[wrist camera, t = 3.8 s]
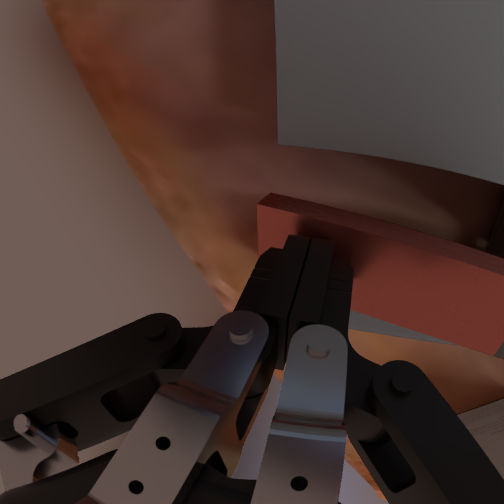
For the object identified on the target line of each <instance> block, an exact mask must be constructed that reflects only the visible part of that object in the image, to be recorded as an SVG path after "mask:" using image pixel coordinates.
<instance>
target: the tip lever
mask: <svg viewBox="0 0 504 504" xmlns="http://www.w3.org/2000/svg"><path fill="white" fill-rule="evenodd" d="M257 226H258V259H259V257H260V255H261V254H263V253H264V252H265V251H266V250H268V249H269V248H270V247H274V248H280V249H283V247H284V245H285V242H286V240H287V237H288V235H289V234H291V235H298V236H305V237H311V241H312V238H319V239H326V240H333V241H334V249H333V256H334V257H341V258H347V259H349V261H350V263H351V265H352V267H353V269H354V277H353V288H352V298H351V308H350V310H353V311H356V312H358V313H361V314H364V315H367V316H370V317H373V318H376V319H379V320H382V321H386V322H389V323H392V324H395V325H398V326H401V327H404V328H407V329H410V330H413V331H416V332H419V333H422V334H425V335H429V336H432V337H435V338H438V339H441V340H444V341H447V342H451V343H454V344H457V345H460V346H463V347H467V348H470V349H473V350H476V351H480V352H483V353H486V354H489V355H493V356H496V357H499V358H503V359H504V198H503V201H502V204H501V208H500V211H499V214H498V217H497V220H496V223H495V226H494V229H493V231H492V234H491V237H490V240H489V242H488V245H487V247H486V252H483V251H480V250H477V249H474V248H471V247H468V246H465V245H462V244H459V243H456V242H453V241H450V240H447V239H443V238H440V237H437V236H434V235H430V234H427V233H424V232H421V231H417V230H414V229H411V228H407V227H404V226H400V225H397V224H393V223H390V222H386V221H383V220H379V219H375V218H372V217H368V216H364V215H361V214H357V213H353V212H349V211H345V210H342V209H338V208H334V207H330V206H326V205H322V204H318V203H313V202H309V201H305V200H301V199H297V198H292V197H288V196H284V195H279V194H275V193H270V194H269V195H267V196H266V197H265V198H264V199H262V200H261V201H260V202H259V203H257Z"/></svg>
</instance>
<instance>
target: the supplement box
mask: <svg viewBox="0 0 504 504" xmlns="http://www.w3.org/2000/svg"><path fill="white" fill-rule="evenodd" d="M457 416H458V417H459V418H460V420H461V421H462V422H463V424H464V425H465V426H466V428H467V429H468V430H469V432H470V433H471V434H472V436H473V437H474V438H475V440H476V441H477V443H478V444H479V445H480V447H481V448H482V449H483V451H484V452H485V454H486V455H487V456H488V458H489V459H490V461H491V462H492V463H493V465H494V466H495V468H496V469H497V470H498V472H499V473H500V475H501V476H502V478H503V479H504V398H503V399H501V400H498V401H495V402H492V403H490V404H487V405H484V406H481V407H479V408H476V409H473V410H470V411H467V412H464V413H461V414H458V415H457Z"/></svg>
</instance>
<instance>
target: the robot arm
mask: <svg viewBox="0 0 504 504" xmlns="http://www.w3.org/2000/svg"><path fill="white" fill-rule="evenodd" d="M333 249H334V241H333V240H326V239H319V238H312V241H311V237H305V236H298V235H291V234H289V235H288V237H287V240H286V242H285V245H284V247H283V249H280V248H274V247H270V248H269V249H268V250H266V251H265V252H264V253H263V254H261V255H260V257H259V259H258V261H257V263H256V265H255V269H253V271H252V274H251V277H250V278H249V280H248V282H247V284H246V286H245V288H244V290H243V292H242V294H241V296H240V298H239V300H238V303H237V305H236V307H235V309H234V311H233V312H230V313H227V314H225V315H224V316H222V317H221V318H220V319H218V321H217V322H216V323H215V325H214V326H210V327H201V328H199V327H198V328H182V327H181V324H180V322H179V321H178V320H177V319H176V318H175V317H174V316H172V315H169V314H166V313H155V314H151V315H147V316H145V317H143V318H141V319H138V320H136V321H134V322H132V323H129V324H127V325H125V326H123V327H120V328H118V329H116V330H114V331H112V332H109V333H107V334H105V335H103V336H100V337H98V338H96V339H93V340H91V341H89V342H86V343H84V344H82V345H80V346H77V347H75V348H73V349H70V350H68V351H66V352H63V353H61V354H59V355H57V356H54V357H52V358H50V359H47V360H45V361H43V362H40V363H38V364H36V365H34V366H31V367H29V368H27V369H24V370H22V371H20V372H17V373H15V374H12V375H10V376H8V377H5V378H3V379H0V470H1V474H2V479H3V483H4V487H5V492H4V493H2V494H1V495H0V504H341V503H340V502H338V498H339V493H340V486H341V479H342V472H343V464H344V456H345V447H346V436H347V435H348V438H349V440H350V442H351V443H352V445H353V447H354V448H355V450H356V451H357V453H358V455H359V456H360V458H361V459H362V461H363V463H364V464H365V466H366V467H367V469H368V471H369V472H370V474H371V475H372V477H373V479H374V480H375V482H376V483H377V485H378V487H379V488H380V490H381V491H382V493H383V495H384V496H385V498H386V499H387V501H388V503H389V504H504V479H503V478H502V476H501V475H500V473H499V472H498V470H497V469H496V468H495V466H494V465H493V463H492V462H491V461H490V459H489V458H488V456H487V455H486V454H485V452H484V451H483V449H482V448H481V447H480V445H479V444H478V443H477V441H476V440H475V438H474V437H473V436H472V434H471V433H470V432H469V430H468V429H467V428H466V426H465V425H464V424H463V422H462V421H461V420H460V418H459V417H458V416H457V415H456V413H455V412H454V411H453V409H452V408H451V407H450V405H449V404H448V403H447V402H446V400H445V399H444V398H443V397H442V395H441V394H440V393H439V391H438V390H437V389H436V388H435V386H434V385H433V384H432V383H431V381H430V380H429V379H428V378H427V376H426V375H425V374H424V373H423V372H422V370H421V369H420V368H418V367H417V366H416V365H414V364H412V363H410V362H407V361H402V360H395V361H390V362H387V363H385V364H384V365H382V366H380V365H378V364H376V363H374V362H372V361H369V360H367V359H365V358H364V357H362V356H361V355H359V354H358V353H357V352H356V351H355V350H354V349H353V347H352V346H351V344H350V342H349V339H348V326H349V317H350V308H351V298H352V288H353V277H354V269H353V267H352V265H351V263H350V261H349V259H347V258H341V257H334V256H333ZM285 363H286V366H285ZM284 366H285V371H284V376H283V380H282V385H281V390H280V395H279V399H278V404H277V408H276V412H275V415H274V417H273V419H272V422H271V426H270V430H269V434H268V438H267V442H266V446H265V451H264V454H263V458H262V462H261V466H260V470H259V474H258V478H257V480H246V479H244V480H243V479H232V476H233V474H234V472H235V470H236V467H237V465H238V463H239V460H240V457H241V454H242V449H243V446H244V443H245V441H246V438H247V436H248V434H249V432H250V430H251V428H252V425H253V423H254V421H255V419H256V417H257V415H258V412H259V410H260V408H261V405H262V403H263V401H264V399H265V397H266V394H267V392H268V388H269V384H270V381H271V378H272V375H273V372H274V369H279V370H283V369H284ZM129 430H131V431H130V432H129V434H128V435H127V437H126V438H125V440H124V441H123V443H122V444H121V446H120V447H119V449H116V450H113V451H110V452H107V453H105V454H103V455H101V456H99V457H96V458H94V459H92V460H89V461H87V462H85V463H82V464H80V465H78V464H79V457H78V451H81V450H83V449H86V448H89V447H91V446H94V445H96V444H99V443H101V442H103V441H106V440H108V439H111V438H113V437H116V436H118V435H120V434H122V433H125V432H127V431H129Z"/></svg>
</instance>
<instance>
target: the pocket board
mask: <svg viewBox="0 0 504 504" xmlns="http://www.w3.org/2000/svg"><path fill="white" fill-rule="evenodd" d="M274 7H275V35H276V71H277V129H278V145H287V146H298V147H308V148H317V149H326V150H334V151H342V152H349V153H356V154H363V155H370V156H376V157H382V158H388V159H394V160H399V161H404V162H410V163H415V164H420V165H425V166H430V167H434V168H439V169H443V170H448V171H452V172H456V173H460V174H464V175H468V176H472V177H476V178H480V179H484V180H487V181H491V182H495V183H498V184H502V185H504V0H274ZM348 328H349V329H355V330H360V331H366V332H372V333H378V334H384V335H390V336H397V337H403V338H410V339H416V340H423V341H430V342H438V343H445V344H453V345H457V344H454V343H451V342H447V341H444V340H441V339H438V338H435V337H432V336H429V335H425V334H422V333H419V332H416V331H413V330H410V329H407V328H404V327H401V326H398V325H395V324H392V323H389V322H386V321H382V320H379V319H376V318H373V317H370V316H367V315H364V314H361V313H358V312H356V311H353V310H350V317H349V326H348Z"/></svg>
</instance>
